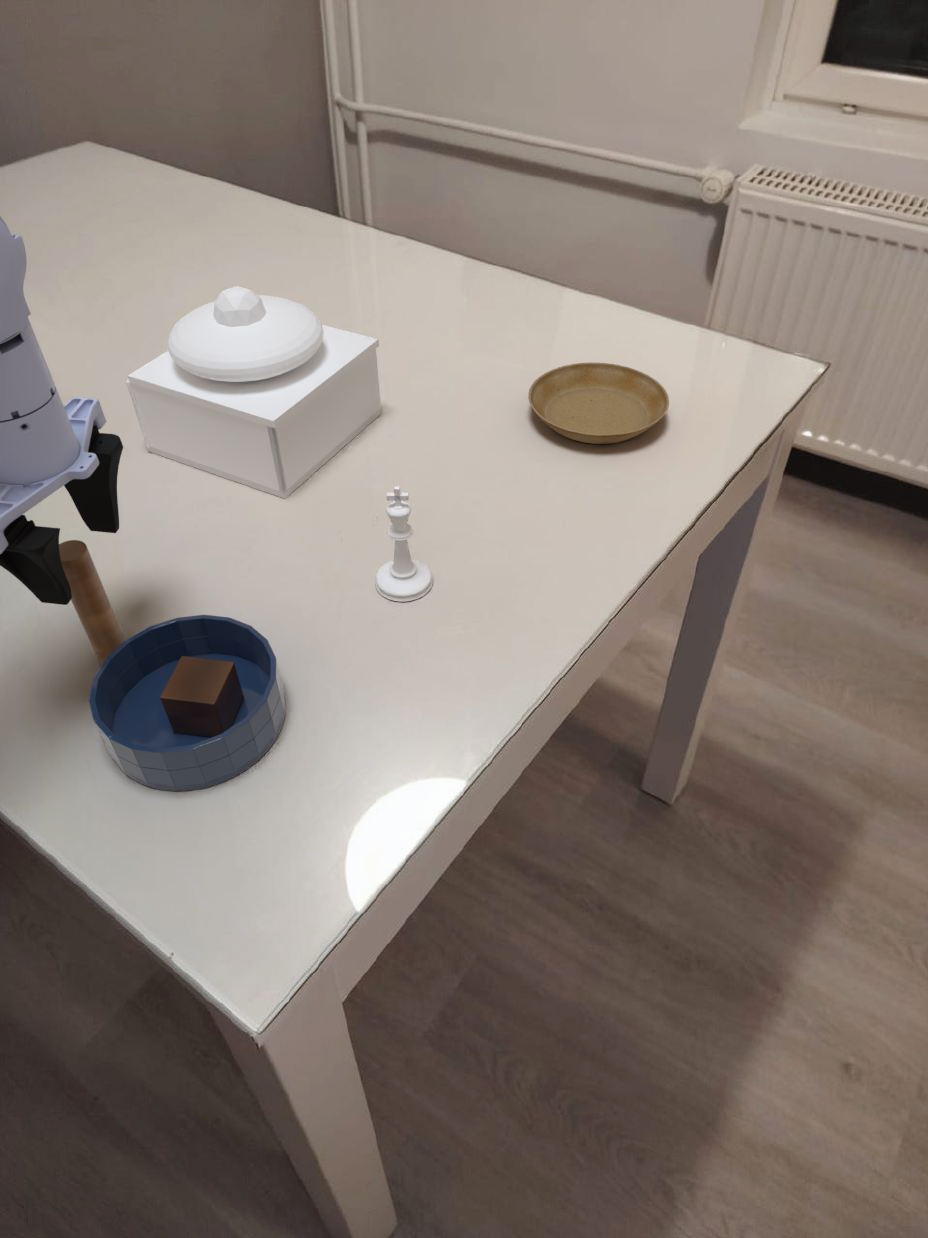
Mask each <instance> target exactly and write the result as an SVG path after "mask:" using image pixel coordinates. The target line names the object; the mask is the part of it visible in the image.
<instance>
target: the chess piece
mask: <svg viewBox="0 0 928 1238" xmlns="http://www.w3.org/2000/svg"><path fill="white" fill-rule="evenodd" d="M386 500H387V501H391V502H390V503H388V504H387V505H386V508H385V513H386V515H387V517H388V518H389V520H390V522H391V525H390V526H388V528H387V531H386V534H387V537H388V538H389V539H391V540H393V541H394V548H393V552H394V553H393V560H390V561H388V562H385V563H384V564H383V565H382V566H381V567H380V568H379V569H378V570H377V572H376V574H375V575H376V576H375V584H374V585H375V588H376V591H377V592H378V594H380V596H382V597H384V598H385V599H387V600H389V601H393V602H398V603H399V602H400V603H405V602H406V603H407V602H412V601H415V600H418V599H421V598H422V597H425V595H427V594H428V593H429V592H430V590H431V589H432V586H433V583H434V582H433V576H432V572H431V569H430V568H429V566H427V565H426V563H424V562H422V561H420V560H417V559H415V558H412V556H411V552H410V548H409V542H408V540H409V539H411V538H412V537H413V535H414V529H413V526H411V525H410V524H409V523H408V521H409V519H410V518H409V517H410V515H411V513H412V507H411V504H410V503H408V502H407V501H409V500H410V499H409V492H401V486H400V485H394V488H393V492H386Z"/></svg>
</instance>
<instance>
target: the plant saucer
mask: <svg viewBox="0 0 928 1238" xmlns="http://www.w3.org/2000/svg"><path fill="white" fill-rule="evenodd" d="M527 397H528V398H527V399H528V402H529V405H530V406H531V408H532V410H533V411H534V413H535V415H537V417H538V418H539V420H541V421H542V422H543V423H544V424H546V426H548V427H549V428H550V429H552V430H553V431H554V432H556V433H557V434H558V435H561V436H563V437H565V438H566V439H570V440H572V441H576V442H579V443H584V444H585V443H587V444H592V445H593V444H594V445H595V444H596V445H608V444H609V445H610V444H616V443H620V442H624V441H628V440H630V439H633V438H635V437H637V436H639V435H640V434H642V433H644V432H646V431H647V430H649V429H650V428H652V427H653V426H654V425H655V424H657V423H658V422H659V421H660V420H661V419H662V418H663V417H664V416H665V415H666V413H667V412H668V410H669V407H670V398H669V394H668V392H667V390H666V389H665V387H664V386H663V385H662V384H661V383H660V382H659V381H658V380H657V379H655V378H653V377H652V376H650V375H649V374H646V373H644V372H642V371H640V370H637V369H635V368H631V367H629V366H625V365H620V364H615V363H607V362H579V363H570V364H565V365H562V366H559V367H556V368H553V369H551V370H549V371H547V372H545V373H543V374H541V375H540V376H538V377H537V378H536V379H535V380H534V381H533V383H532V384H531V386H530V387H529V390H528V395H527Z"/></svg>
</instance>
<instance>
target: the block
mask: <svg viewBox="0 0 928 1238" xmlns="http://www.w3.org/2000/svg"><path fill="white" fill-rule="evenodd" d="M160 699H161V702H162V704H163V707H164V710H165V712H166V715H167V717H168V720H169V722H170V725H171V727H172V730H173V732H174V733H179V734H187V735H195V736H203V737H211V738H212V737H214V736H217V735H220V734H222V733H223V732H225V731H226V730H228V729H229V728H231V726H232V724H233V722H234V720H235V717H236V715H237V713H238V711H239V708H240V706H241V704H242V702H243V699H244V695H243V692H242V688H241V685H240V681H239V678H238V674H237V671H236V667H235V664H234V662H229V661H220V660H211V659H203V658H194V657H185V656H182V657H181V659H180V660H179V662H178V664H177V666H176V668H175V670H174V672H173V674H172V675H171V677H170V679H169V681H168V683H167V685H166V687H165V688H164V690H163V692H162V694H161V696H160Z"/></svg>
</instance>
